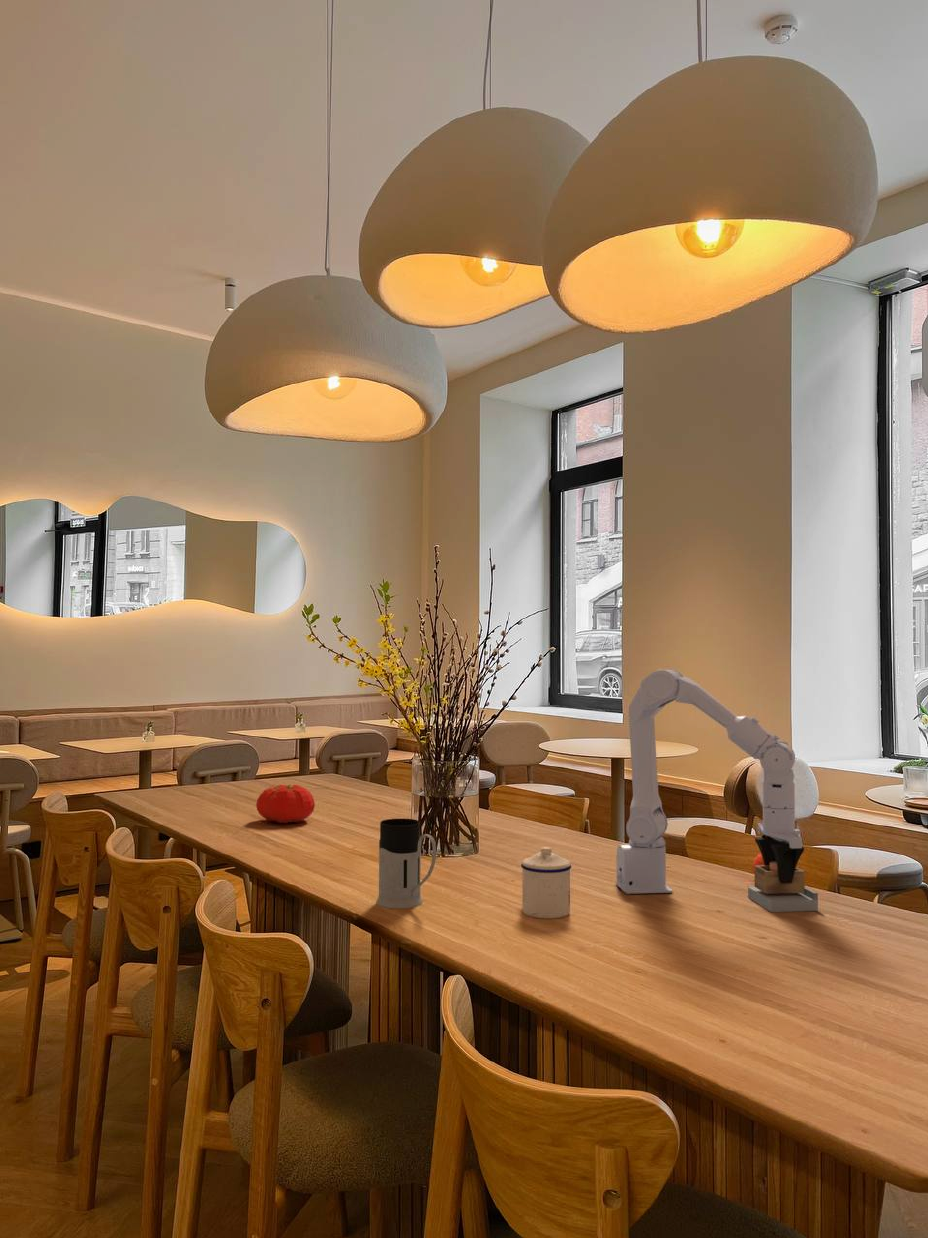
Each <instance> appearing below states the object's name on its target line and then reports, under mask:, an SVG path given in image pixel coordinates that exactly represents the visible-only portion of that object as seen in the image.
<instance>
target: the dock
mask: <svg viewBox="0 0 928 1238" xmlns="http://www.w3.org/2000/svg"><path fill="white" fill-rule="evenodd" d="M818 893H819V892H817V891H815V890H813V889H811V888H809V887H807V886H805V893H770V894H766V893H764V892H763V891H761V890H759V889H758V888H756V887H755V886H747V898H748V899H750V900H752V901H753V902H755V903H756V904H757V905H759V906H761V907H762V908H764V909H765V910H767V911H768V912H770V913H782V912H815V911H816V912H817V911H819V897H818V896H819V894H818Z"/></svg>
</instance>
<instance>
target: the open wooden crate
mask: <svg viewBox="0 0 928 1238" xmlns="http://www.w3.org/2000/svg"><path fill="white" fill-rule="evenodd" d="M805 873H806V872H805V870H803V869H801V868H798V867H797V866H796V869H795V873H794V877H793V881H792V883H780V881H779V876H778V871H770V865H758V866H755V875H754V887H756V888H758V889H759V890H761V891H763V892H764V893H766V894H770V893H805V887H806V886H805V885H806V884H805Z"/></svg>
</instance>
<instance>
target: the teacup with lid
mask: <svg viewBox="0 0 928 1238" xmlns="http://www.w3.org/2000/svg"><path fill="white" fill-rule="evenodd" d="M552 851H553V849H552V848H551V847H548V846H542V847H541V848H540V851H539V852H537V853H534V855H532V856H529V857H527V858H526V857H525V858H524V859H523V860H522V861H521V869H522V872H521V873H522V876H521V877H522V881H521V883H522V890H521V892H522V905H521V906H522V907H521V908H522V912H523V913H524V915H526V916H529V917H531V918H537V919H542V920H543V919H545V920H546V919H547V920H549V919H550V920H551V919H560V918H564V917H566V916H568V915H569V914H570V913H571V868H572V864H571V862H570V860H568V859H566V858H563V857H560V855H559V854H556V853H555V852H552Z"/></svg>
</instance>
